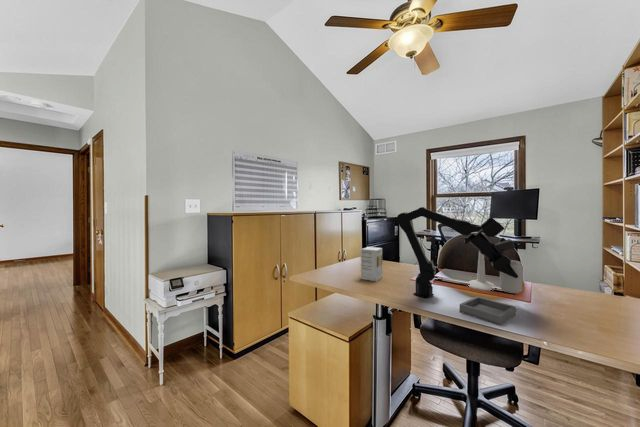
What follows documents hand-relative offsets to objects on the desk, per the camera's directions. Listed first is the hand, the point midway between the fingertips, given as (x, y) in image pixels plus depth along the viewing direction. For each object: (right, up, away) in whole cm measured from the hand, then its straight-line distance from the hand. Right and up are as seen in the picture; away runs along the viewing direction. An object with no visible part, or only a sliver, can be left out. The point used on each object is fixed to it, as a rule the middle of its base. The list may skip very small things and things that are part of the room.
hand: (515, 274), depth 107 cm
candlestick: (+2, -12, +27) cm, 30 cm away
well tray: (-14, -14, -4) cm, 20 cm away
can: (-1, -7, +1) cm, 7 cm away
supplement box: (-48, -12, +43) cm, 66 cm away
